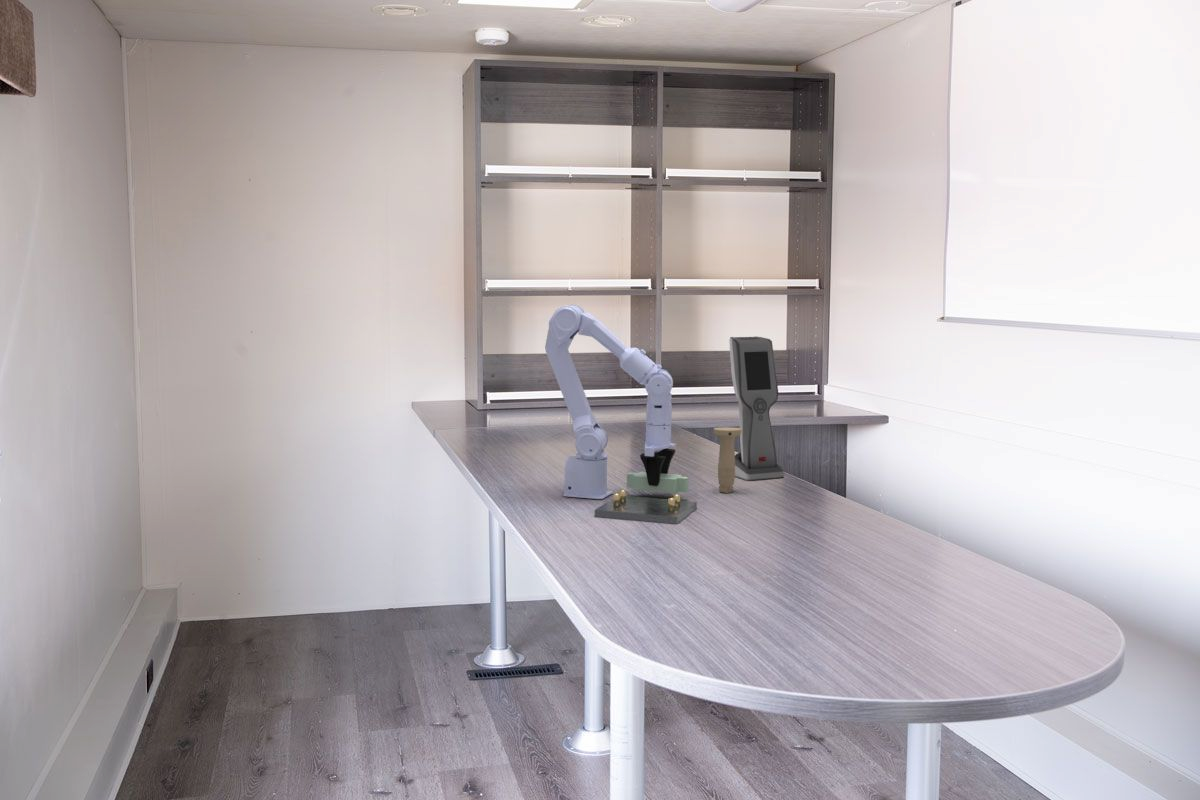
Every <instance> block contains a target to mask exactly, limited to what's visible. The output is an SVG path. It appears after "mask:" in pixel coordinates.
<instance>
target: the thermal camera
mask: <svg viewBox="0 0 1200 800" xmlns="http://www.w3.org/2000/svg"><path fill="white" fill-rule="evenodd" d="M728 341H729V342H728V343H729V355H730V367H731V368H730V370H731V379H732V386H733V390H734V393H735V394H734V395H735V396H736V398H737V402H738V410H739V411H738V412H739V413H738V414H739V416H738V417H739V418H738V419H739V428H740V429H741V435H740V436H739V437H740V438H739V439H740V440H739V441H740V452H738V453H736V454H735V478H738V479H742V480H744V481H750V480H751V481H759V480H760V481H761V479H763V480H772V479H771V478H774V479H781V477H783V478H784V477H785V472H784V470H783V468H782V467H781V466H780V465H779V464H778V459H777V457H778V456H777V450H776V449H777V448H776V442H775V438H774V433H773V427H772V422H771V418H770V409H771V408H772V407H773V405H775V404H776V403H777V401H778V399H779V389H778V387H779V386H778V379H777V372H776V365H775V356H774V347H773V341H772V340H771V339H770V338H766V337H763V336H731V337H729V339H728Z"/></svg>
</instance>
